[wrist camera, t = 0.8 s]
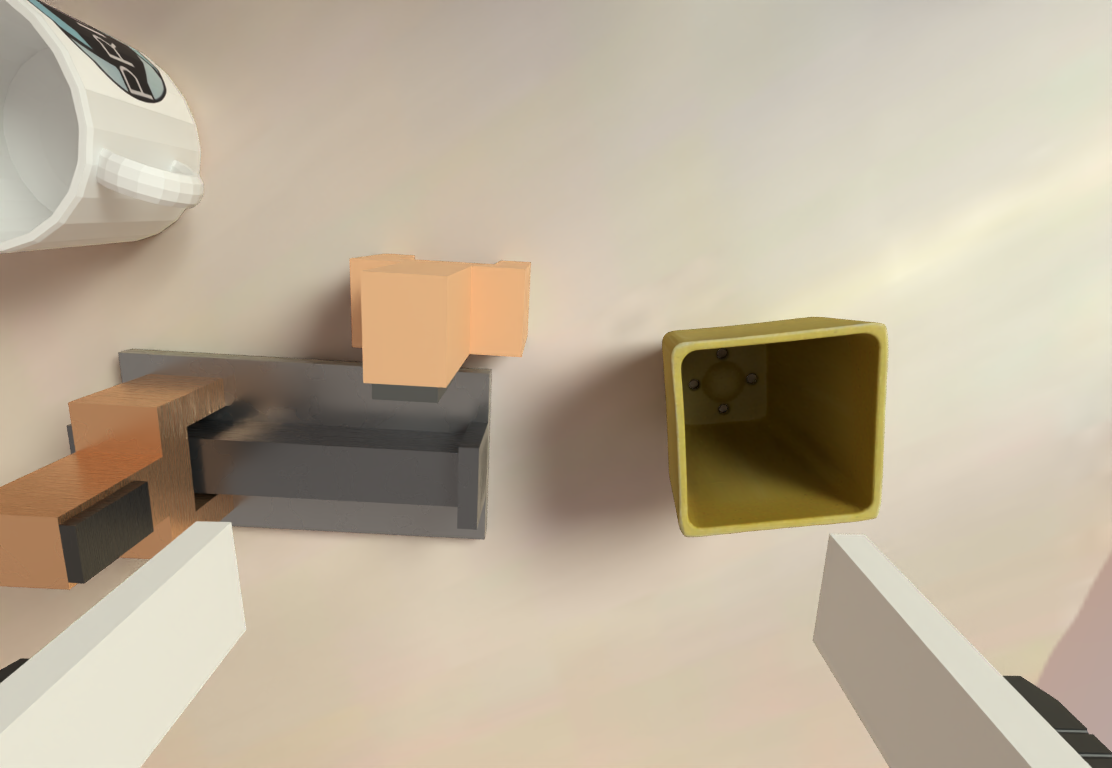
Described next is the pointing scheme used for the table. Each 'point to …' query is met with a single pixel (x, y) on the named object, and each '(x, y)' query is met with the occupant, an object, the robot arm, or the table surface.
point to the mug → (87, 136)
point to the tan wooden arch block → (433, 320)
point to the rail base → (244, 461)
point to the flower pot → (776, 424)
